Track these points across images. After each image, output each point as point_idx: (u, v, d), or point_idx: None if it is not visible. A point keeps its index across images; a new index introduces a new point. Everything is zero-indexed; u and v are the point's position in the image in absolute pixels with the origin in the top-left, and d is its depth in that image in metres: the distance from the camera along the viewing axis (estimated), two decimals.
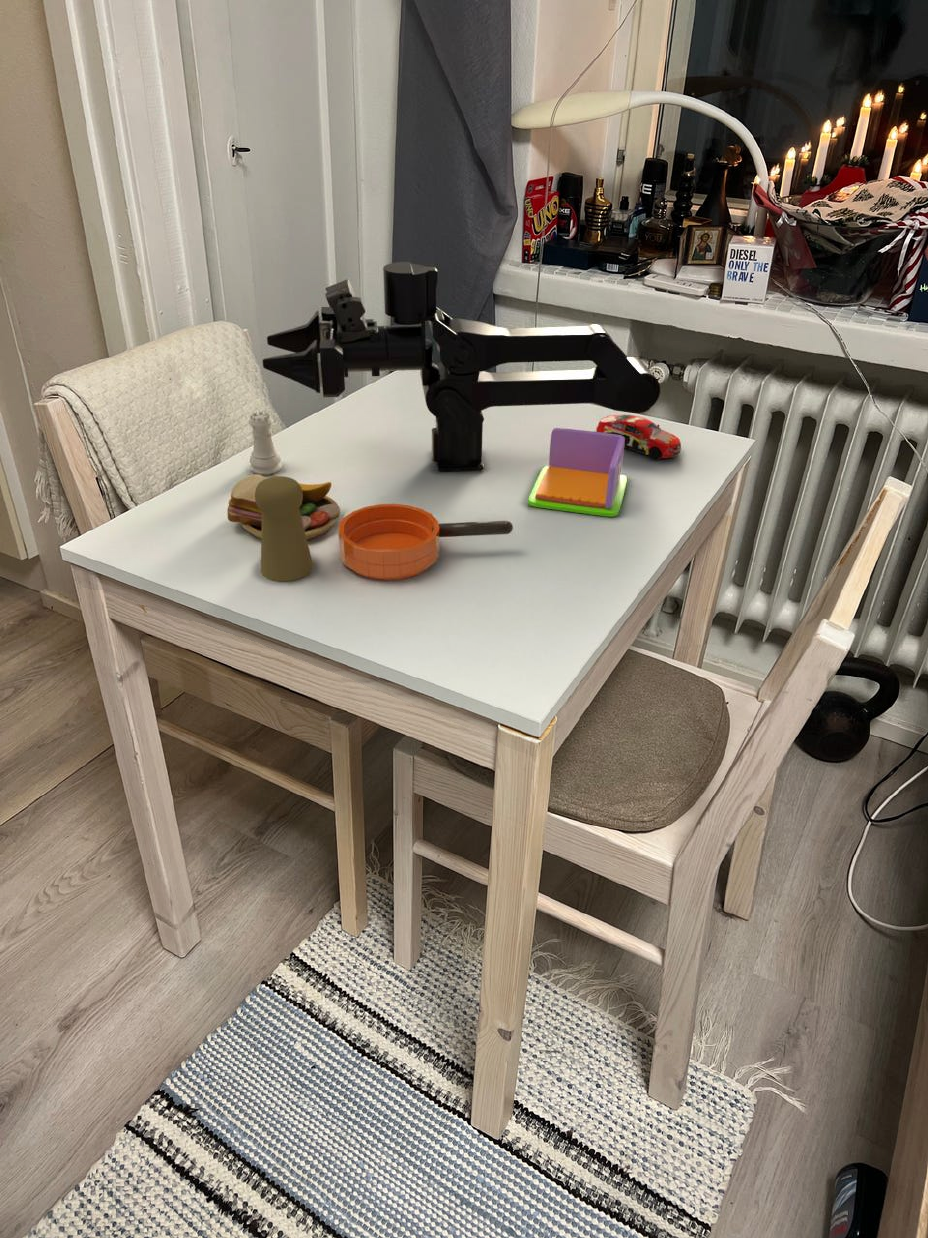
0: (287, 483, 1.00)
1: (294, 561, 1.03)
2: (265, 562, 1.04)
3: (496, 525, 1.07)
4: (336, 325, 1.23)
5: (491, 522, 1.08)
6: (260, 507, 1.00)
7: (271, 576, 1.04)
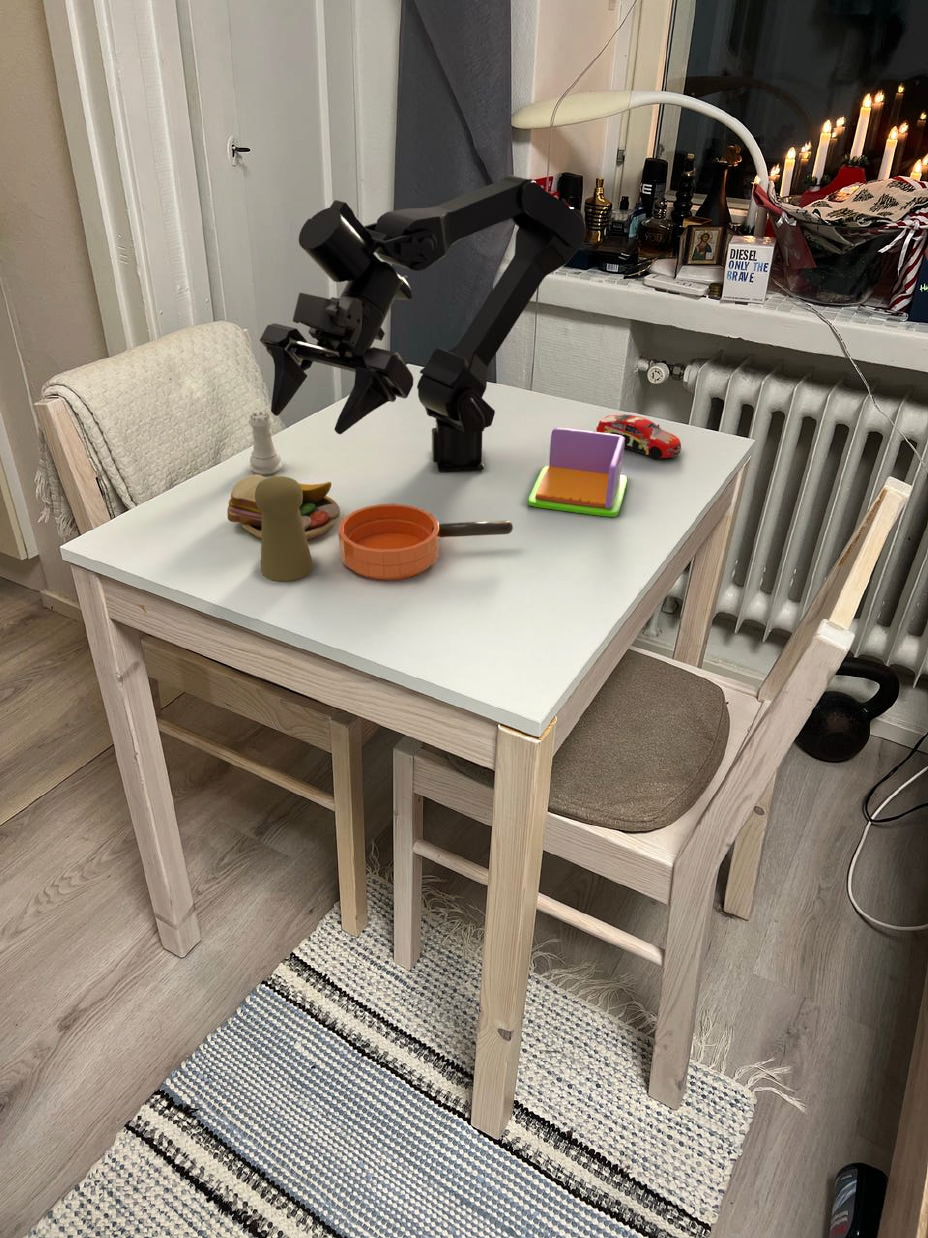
0: (287, 483, 1.00)
1: (294, 561, 1.03)
2: (265, 562, 1.04)
3: (496, 525, 1.07)
4: (296, 337, 1.08)
5: (491, 522, 1.08)
6: (260, 507, 1.00)
7: (271, 576, 1.04)
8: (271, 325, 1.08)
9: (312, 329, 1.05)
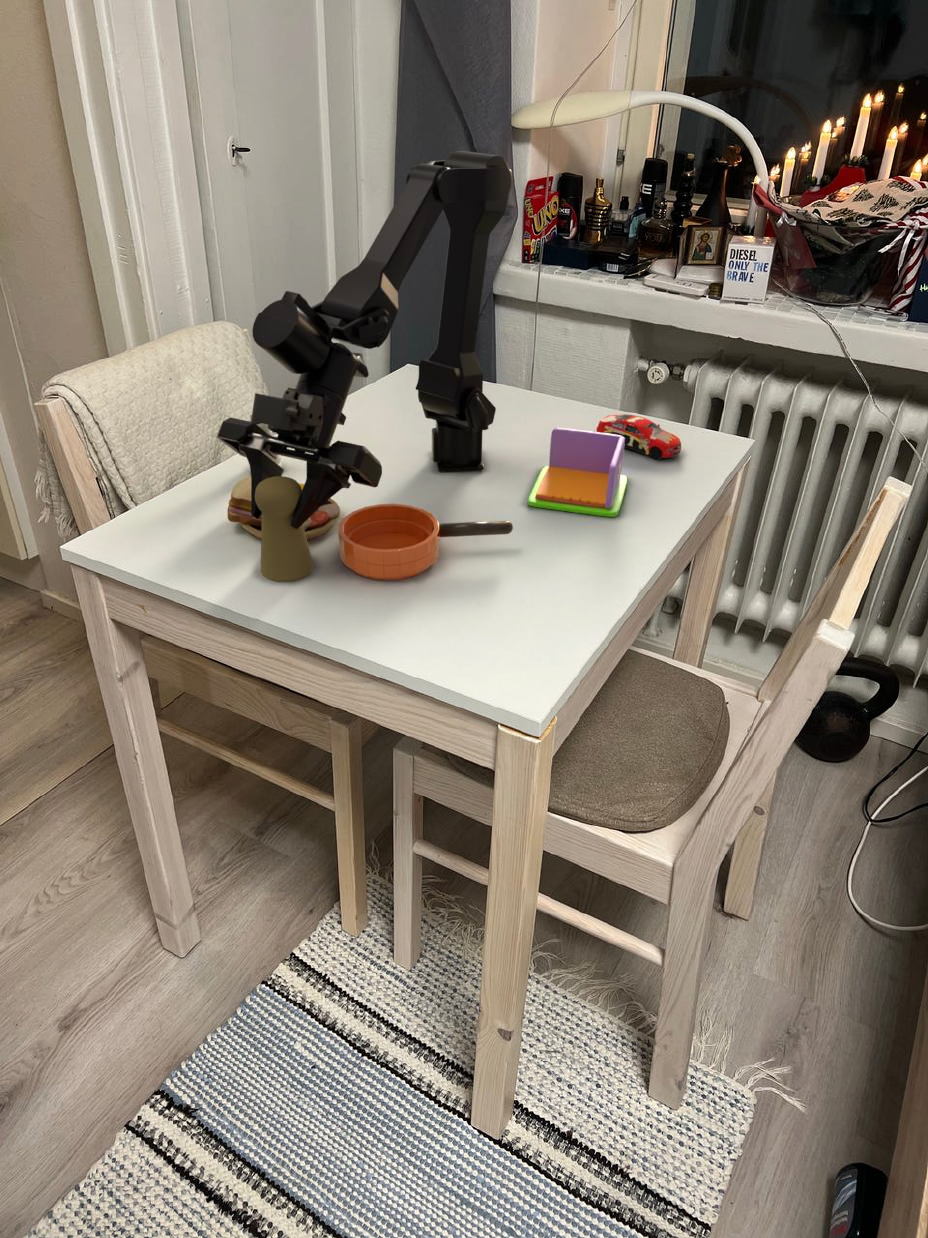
0: (287, 484, 1.00)
1: (294, 561, 1.03)
2: (265, 562, 1.04)
3: (496, 525, 1.07)
4: (255, 431, 1.03)
5: (491, 522, 1.08)
6: (260, 507, 1.00)
7: (271, 576, 1.04)
8: (227, 421, 1.03)
9: (271, 424, 1.01)
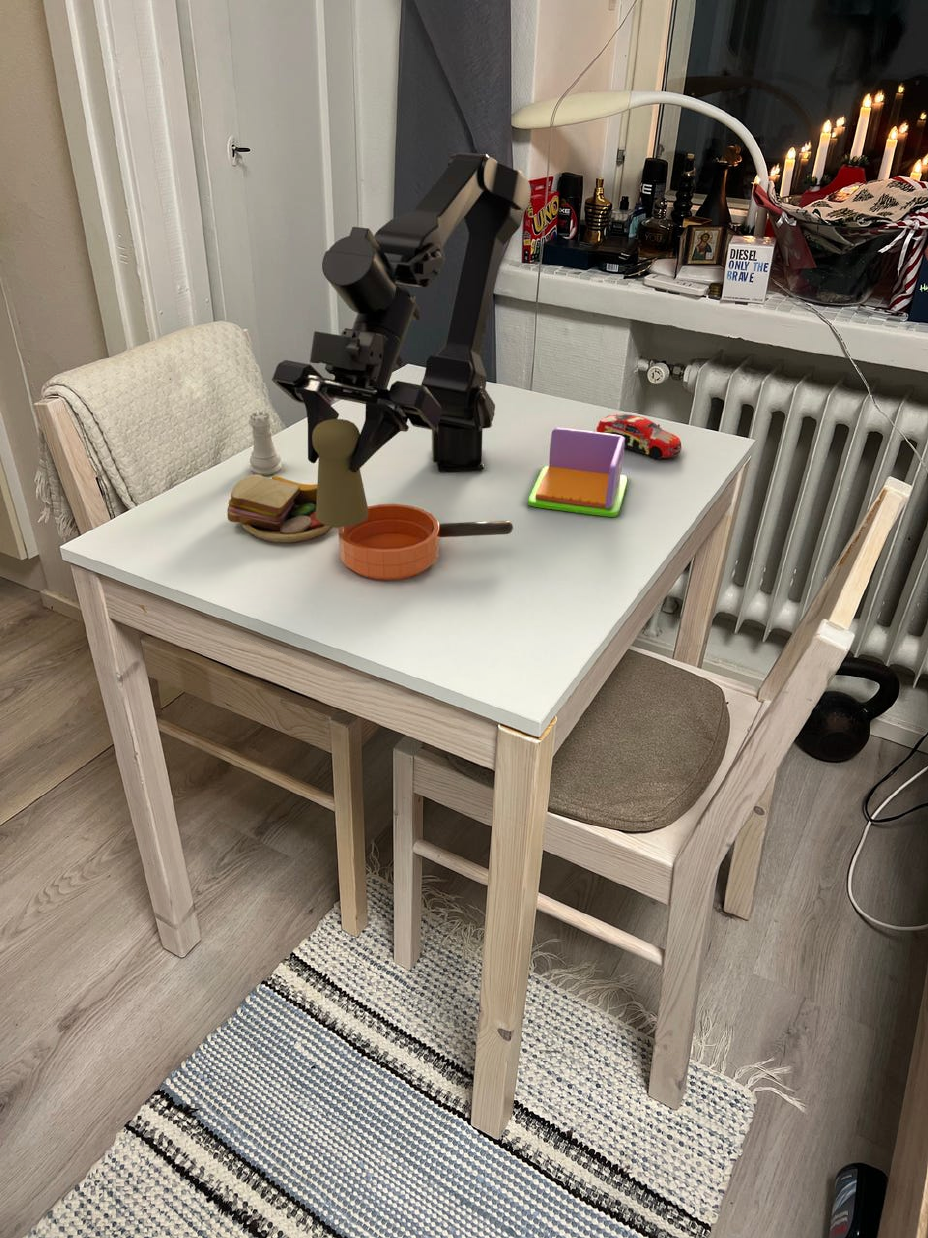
0: (345, 425, 0.98)
1: (351, 506, 1.01)
2: (321, 507, 1.02)
3: (496, 525, 1.07)
4: (311, 373, 1.01)
5: (491, 522, 1.08)
6: (318, 450, 0.98)
7: (327, 522, 1.02)
8: (282, 363, 1.01)
9: (328, 365, 0.99)
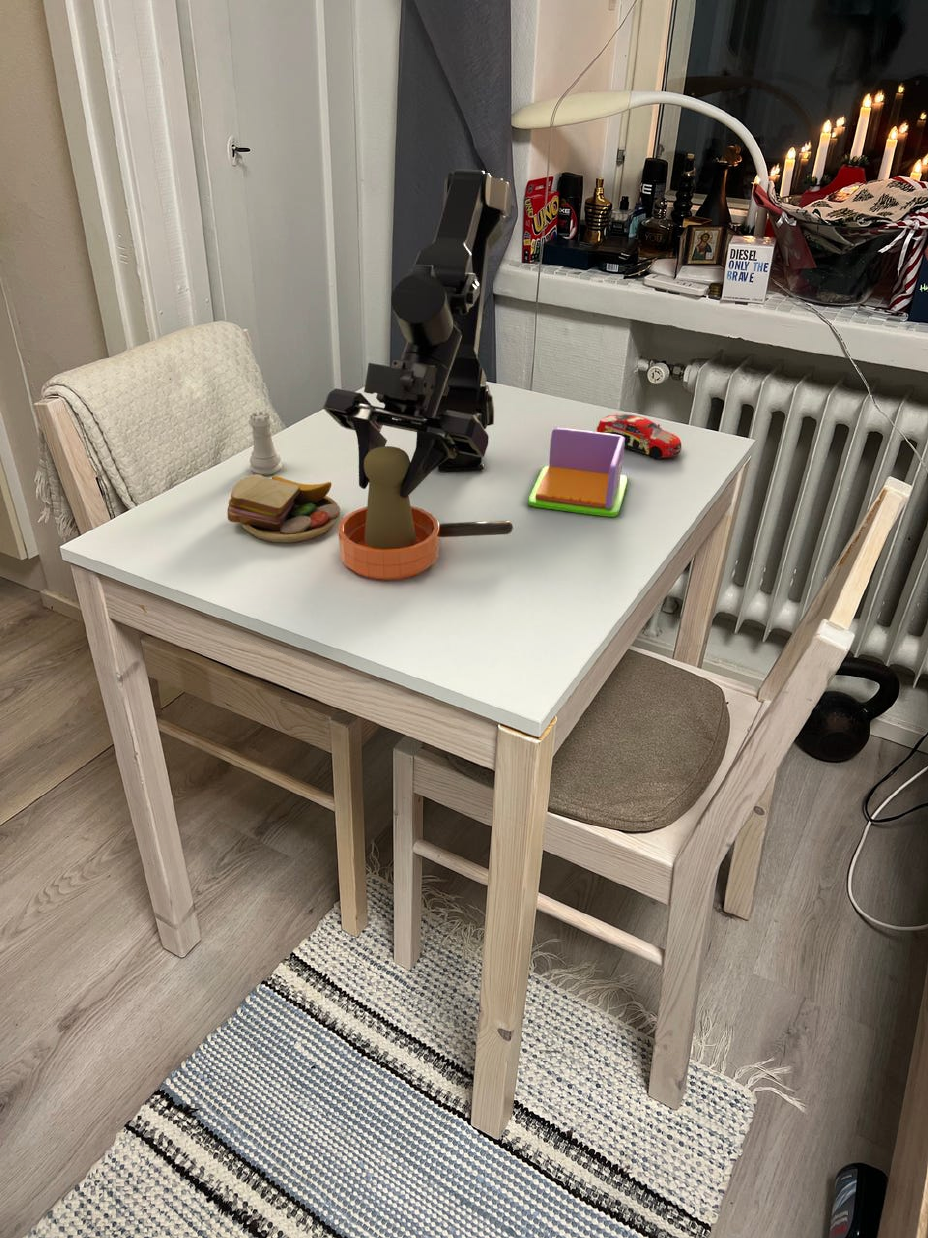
0: (396, 453, 1.01)
1: (400, 530, 1.04)
2: (371, 531, 1.05)
3: (496, 525, 1.07)
4: (361, 402, 1.04)
5: (491, 522, 1.08)
6: (370, 476, 1.01)
7: (377, 545, 1.05)
8: (334, 391, 1.04)
9: (380, 394, 1.02)
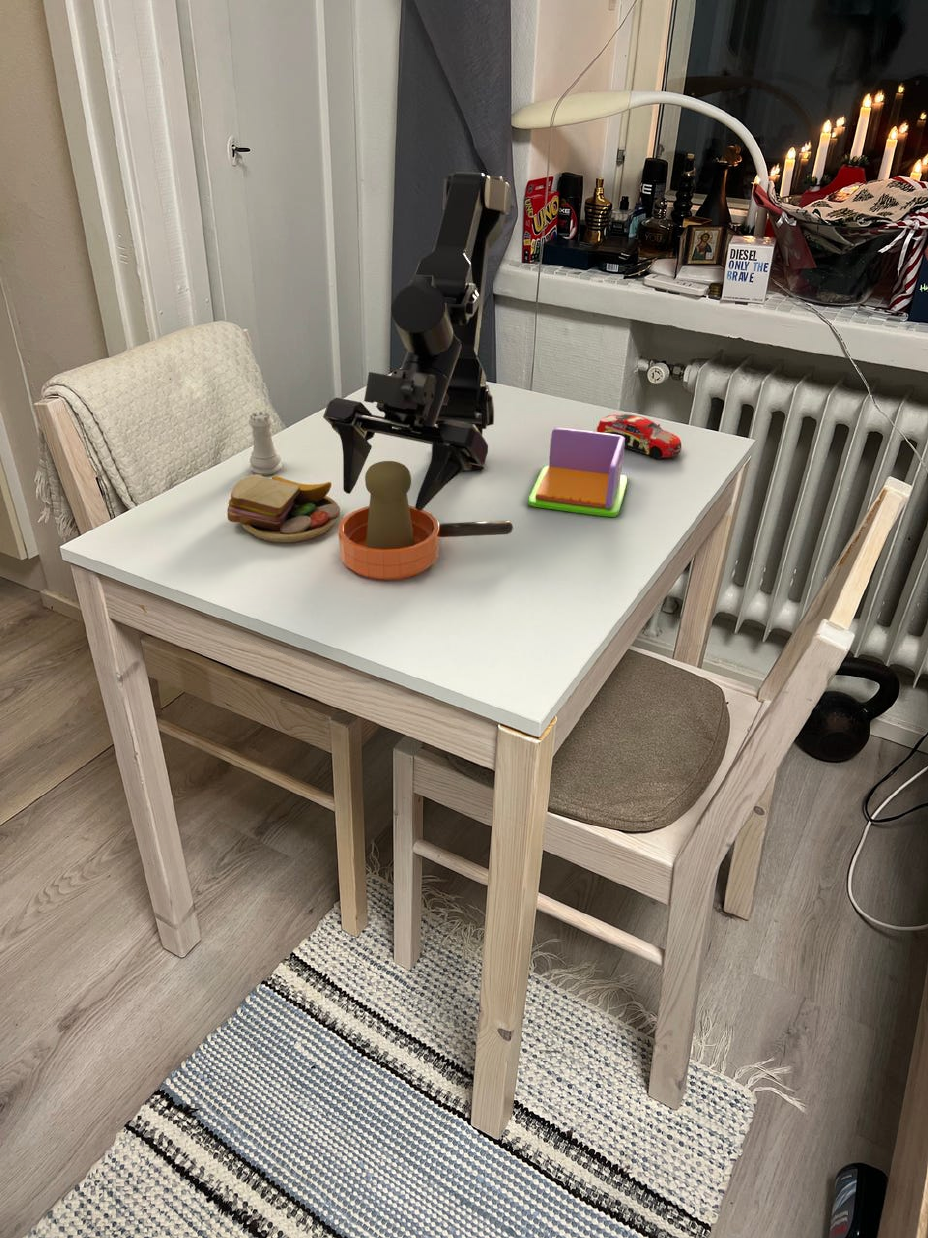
0: (397, 468, 1.02)
1: (400, 544, 1.05)
2: (371, 545, 1.06)
3: (496, 525, 1.07)
4: (361, 411, 1.05)
5: (491, 522, 1.08)
6: (371, 491, 1.02)
7: None
8: (334, 400, 1.05)
9: (380, 404, 1.02)
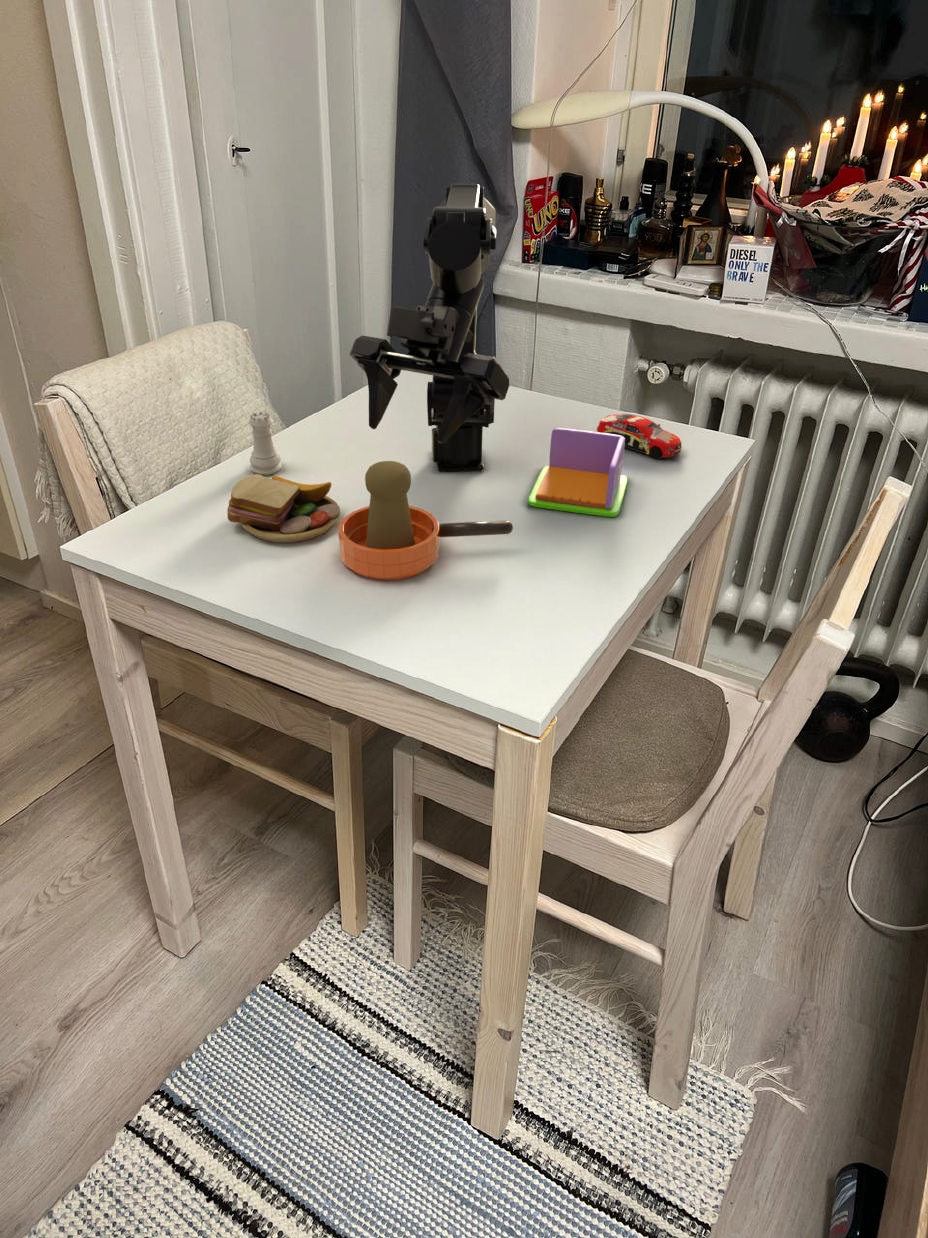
0: (397, 468, 1.02)
1: (400, 544, 1.05)
2: (371, 545, 1.06)
3: (496, 525, 1.07)
4: (386, 348, 1.07)
5: (491, 522, 1.08)
6: (371, 491, 1.02)
7: None
8: (360, 338, 1.07)
9: (403, 339, 1.05)
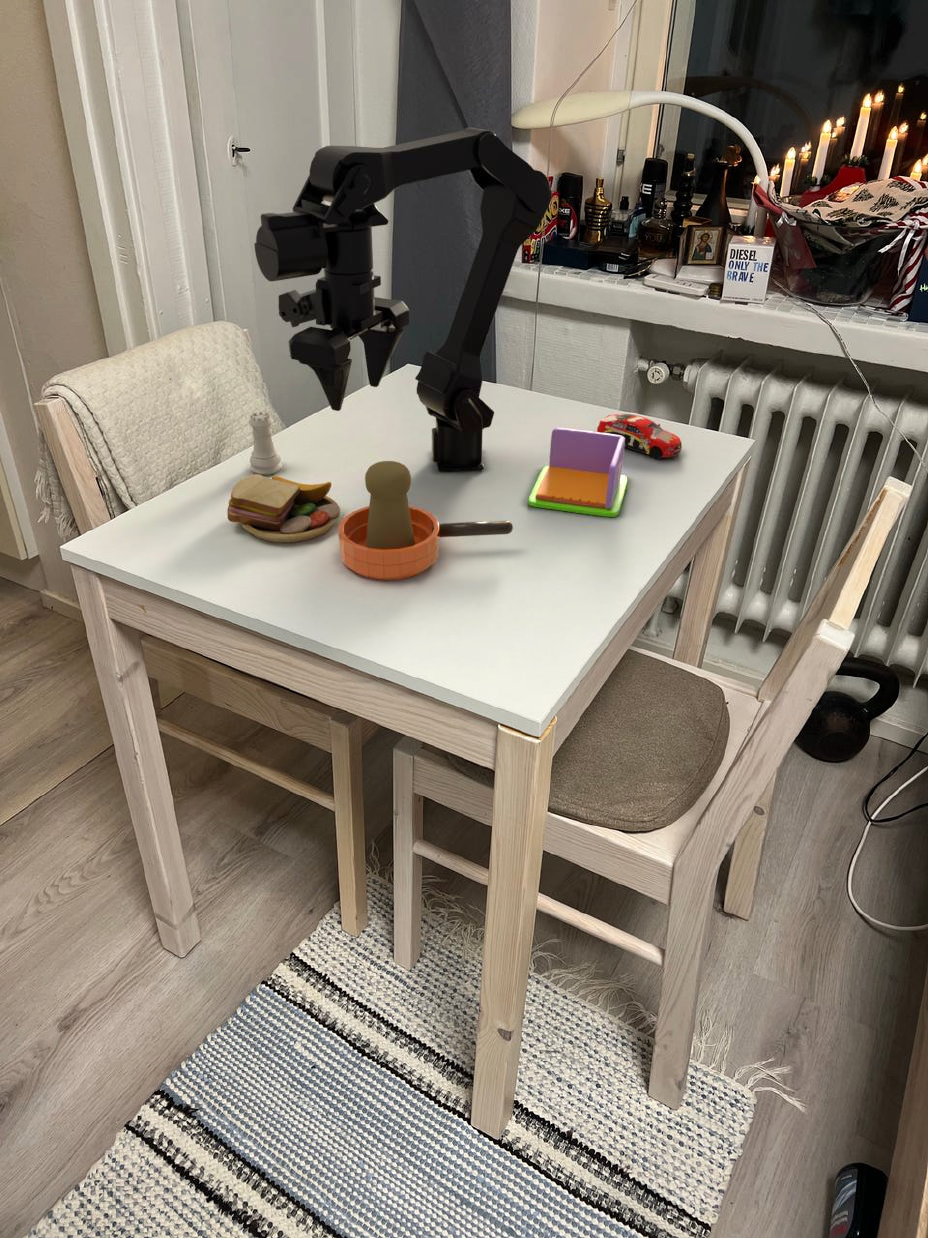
0: (397, 468, 1.02)
1: (400, 544, 1.05)
2: (371, 545, 1.06)
3: (496, 525, 1.07)
4: None
5: (491, 522, 1.08)
6: (371, 491, 1.02)
7: None
8: None
9: None
